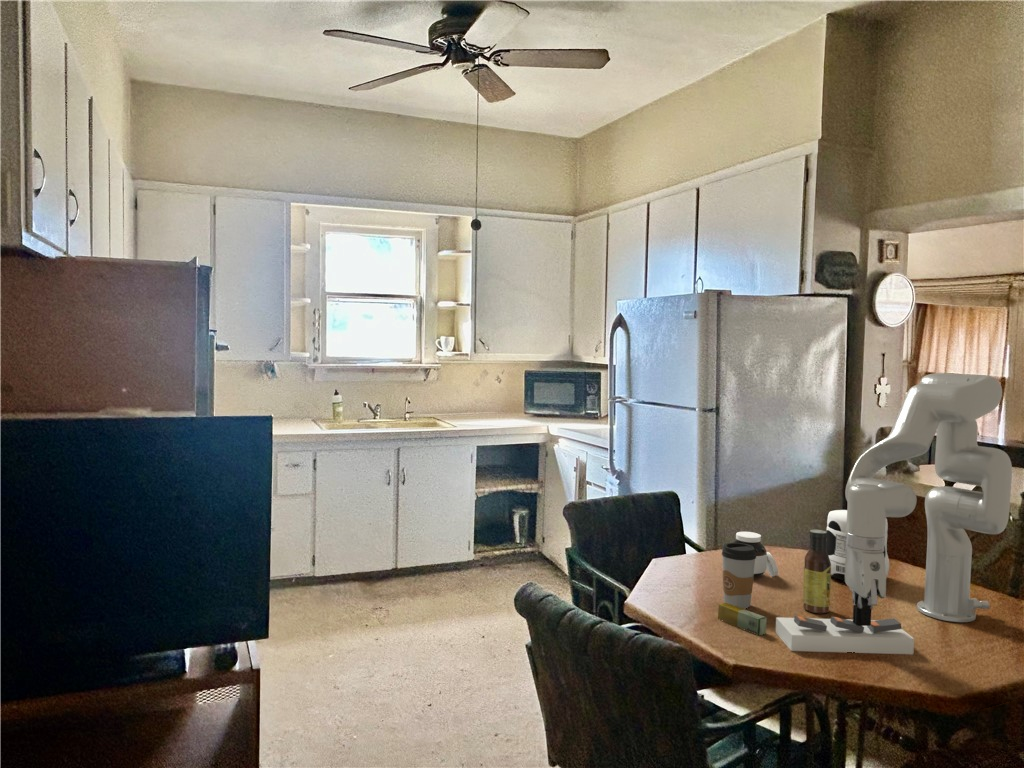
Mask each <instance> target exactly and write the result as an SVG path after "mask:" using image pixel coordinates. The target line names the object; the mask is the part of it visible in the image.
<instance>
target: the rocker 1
mask: <svg viewBox="0 0 1024 768" xmlns="http://www.w3.org/2000/svg"><path fill="white" fill-rule="evenodd" d="M793 618H794V622H795V623H796V624H797V625H798V626H801V627H806V628H811V629H816V630H821V631H826V629H827V626H826V625H825V624H824V623H823V622H822V621H819V620H814V619H809V617H804V616H800V615H794V617H793Z"/></svg>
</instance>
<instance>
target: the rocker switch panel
mask: <svg viewBox="0 0 1024 768" xmlns="http://www.w3.org/2000/svg"><path fill="white" fill-rule="evenodd" d="M808 618H809V617H808ZM809 619H814V620H819V621H822V622H823V623H824V624H825V625H826V626H827V629H826V631H821V630H816V629H811V628H806V627H801V626H798V625H797V624H796V623H795V622H794V617H775V634H776V635H777V636H778V637H779V638H780V640H781V641H782V642H783V643H784V644H785V646H786V647H787V648H788V649H789V650H790V651H791V652H817V653H820V652H821V653H847V652H852V654H853V652H855V653H854V654H884V655H885V654H888V655H889V654H890V655H892V654H893V655H914V648H915V647H914V646H915V638H914V637H913V636H912V635H910V634H909V633H908V632H906V631H905V630H904V629H903V628H902V629H898V630H891V631H884V632H876V633H873V632H872V631H871V630H870V629H869V628H868V627H867V626H863V627H864V631H863V633H861V632H857V631H852V630H848V629H844V628H839V627H836V626H835V625H833V624H832V623H831V622H830V620H831V618H816V617H814V618H809ZM845 619H846V620H850V621H853V618H852V619H851V618H850V619H849V618H845ZM878 620H879V619H871V621H878Z"/></svg>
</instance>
